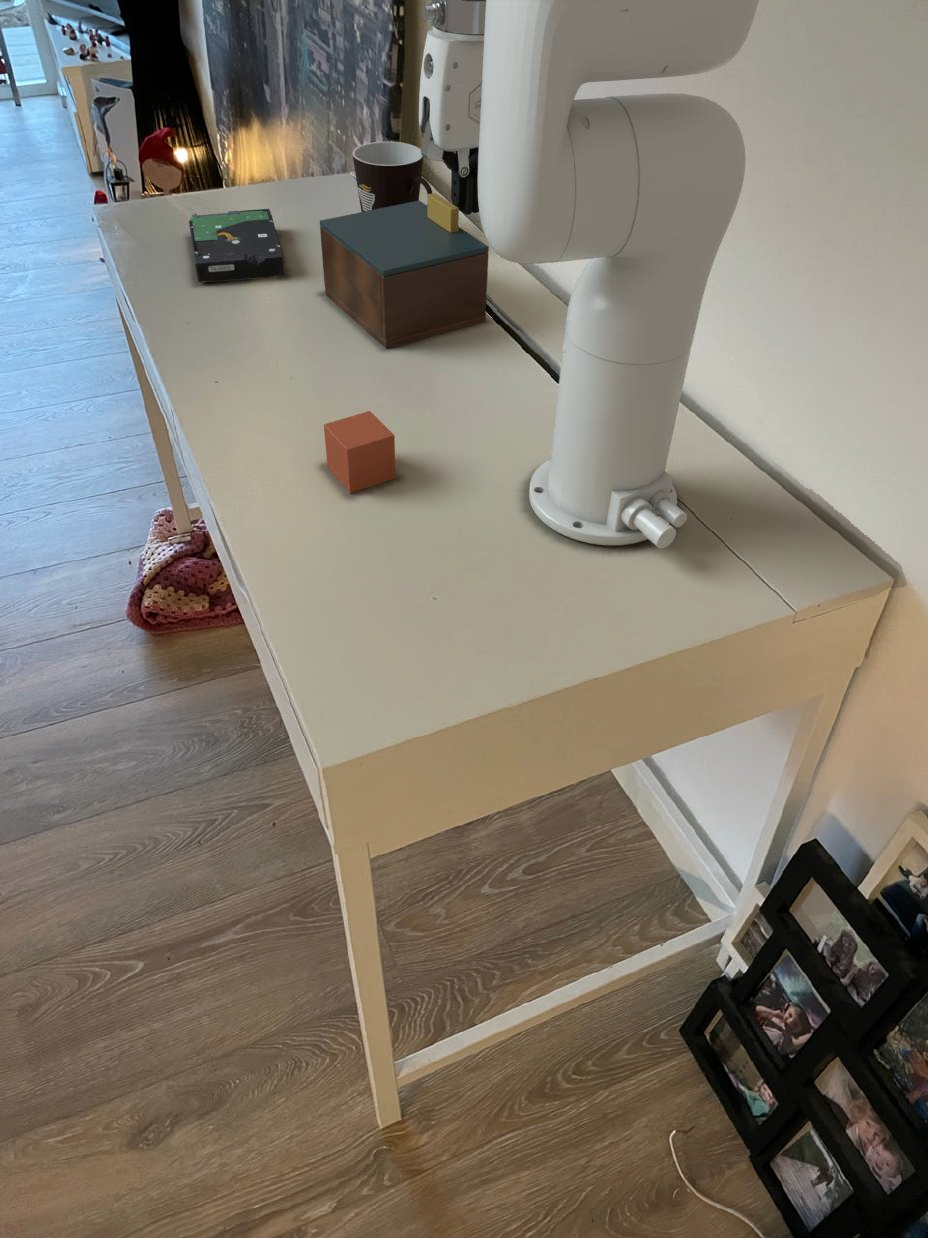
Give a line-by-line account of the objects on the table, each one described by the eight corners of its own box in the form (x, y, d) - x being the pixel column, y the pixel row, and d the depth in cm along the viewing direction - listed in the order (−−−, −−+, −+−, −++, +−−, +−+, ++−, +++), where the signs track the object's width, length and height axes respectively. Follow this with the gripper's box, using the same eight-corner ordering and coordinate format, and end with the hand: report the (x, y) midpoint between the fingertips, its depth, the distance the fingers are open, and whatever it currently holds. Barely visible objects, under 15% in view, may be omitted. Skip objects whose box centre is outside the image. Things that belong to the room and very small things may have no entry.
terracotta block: (396, 478, 83) (394, 435, 80) (350, 493, 81) (347, 449, 78) (371, 453, 86) (369, 410, 82) (327, 467, 84) (323, 424, 81)
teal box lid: (488, 251, 99) (490, 222, 97) (383, 276, 94) (382, 245, 92) (419, 205, 108) (419, 177, 106) (319, 225, 103) (317, 196, 101)
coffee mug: (349, 225, 123) (345, 143, 116) (413, 219, 125) (413, 139, 118) (370, 262, 115) (367, 177, 108) (438, 255, 117) (439, 171, 110)
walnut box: (485, 321, 105) (488, 252, 99) (386, 348, 100) (383, 277, 94) (419, 272, 113) (419, 205, 108) (325, 294, 108) (319, 226, 103)
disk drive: (288, 278, 111) (271, 228, 121) (285, 255, 109) (269, 205, 119) (198, 286, 109) (189, 234, 119) (194, 263, 107) (185, 212, 117)
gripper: (423, 31, 85) (424, 234, 98) (557, 15, 91) (541, 209, 104) (384, 13, 90) (389, 209, 102) (514, -1, 96) (504, 186, 108)
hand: (466, 209), depth 103 cm, fingers closed
